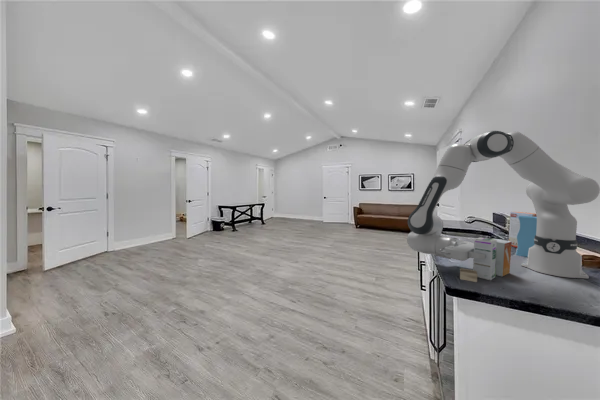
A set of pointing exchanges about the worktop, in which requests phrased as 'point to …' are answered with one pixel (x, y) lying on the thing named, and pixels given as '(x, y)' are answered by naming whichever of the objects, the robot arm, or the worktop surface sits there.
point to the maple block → (468, 275)
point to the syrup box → (487, 265)
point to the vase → (526, 234)
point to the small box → (503, 257)
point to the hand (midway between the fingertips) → (487, 255)
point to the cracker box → (516, 225)
